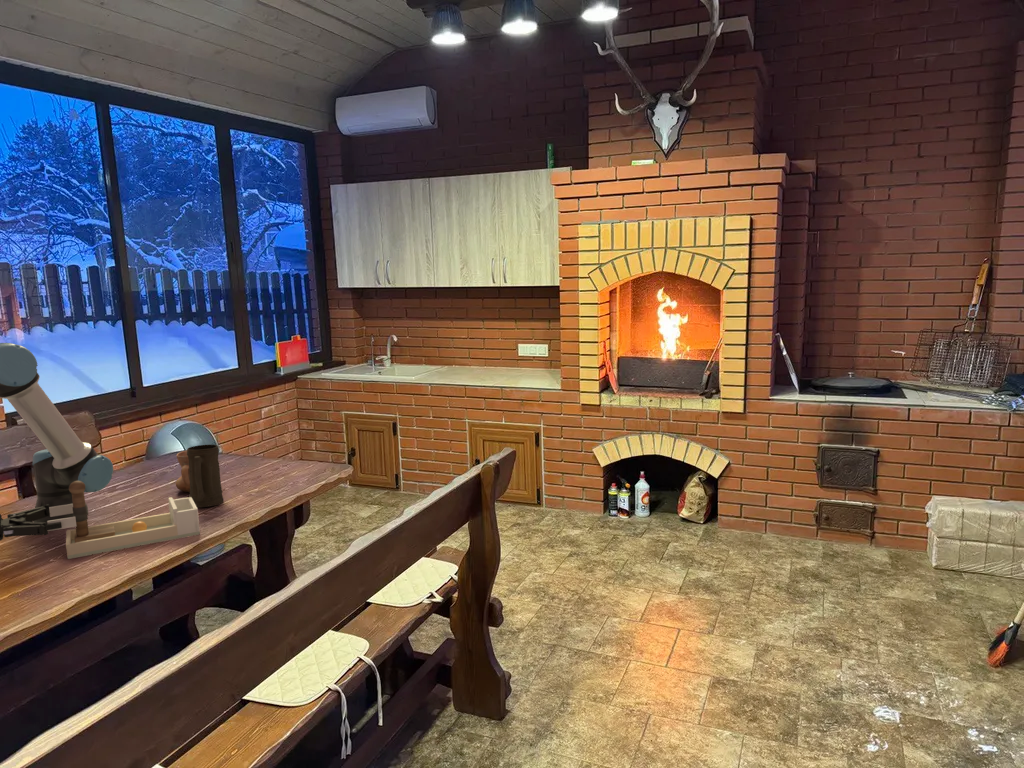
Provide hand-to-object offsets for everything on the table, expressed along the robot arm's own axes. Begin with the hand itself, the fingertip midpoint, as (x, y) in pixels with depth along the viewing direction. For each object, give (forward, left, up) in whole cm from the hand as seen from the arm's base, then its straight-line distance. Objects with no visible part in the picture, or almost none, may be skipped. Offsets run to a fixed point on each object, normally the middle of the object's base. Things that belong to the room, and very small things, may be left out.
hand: (76, 514), depth 202 cm
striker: (-1, +4, -9) cm, 10 cm away
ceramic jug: (-43, +37, -11) cm, 57 cm away
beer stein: (-22, +37, -11) cm, 44 cm away
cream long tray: (-1, +14, -10) cm, 17 cm away
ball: (-1, +16, -7) cm, 17 cm away
